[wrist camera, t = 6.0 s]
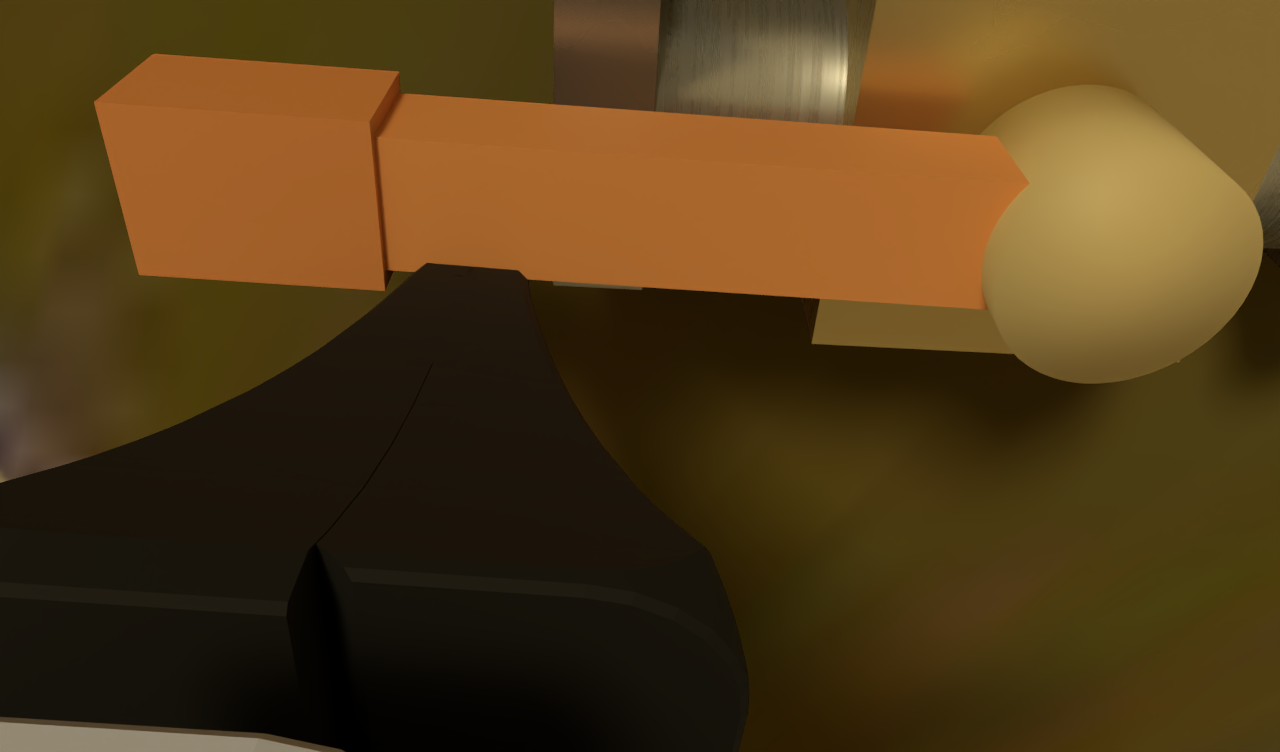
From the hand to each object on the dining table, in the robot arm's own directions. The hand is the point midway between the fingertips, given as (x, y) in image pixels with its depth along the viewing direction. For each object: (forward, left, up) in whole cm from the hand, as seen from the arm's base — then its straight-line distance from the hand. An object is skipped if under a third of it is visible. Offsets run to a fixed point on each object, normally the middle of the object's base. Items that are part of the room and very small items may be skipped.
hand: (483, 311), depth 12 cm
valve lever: (-2, -2, 0) cm, 3 cm away
